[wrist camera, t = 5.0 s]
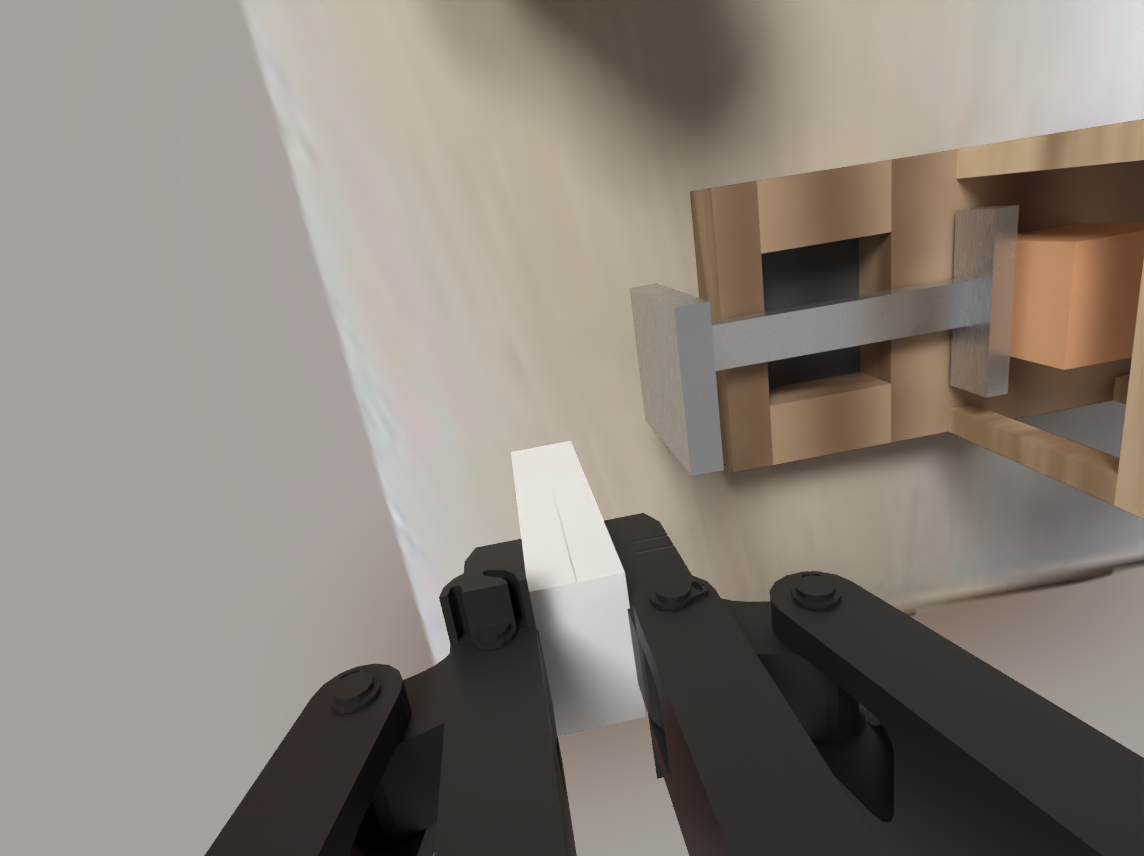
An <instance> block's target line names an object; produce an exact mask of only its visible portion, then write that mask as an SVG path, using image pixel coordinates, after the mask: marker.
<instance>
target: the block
mask: <svg viewBox="0 0 1144 856" xmlns="http://www.w3.org/2000/svg"><path fill="white" fill-rule="evenodd" d="M1143 261H1144V222H1096V223H1078V224H1072V225H1066V226H1060V227H1054V228H1048V229H1042V230H1037V231H1031V232H1025V233H1019V234H1017V248H1016V264H1015V281H1014V297H1013V314H1012V330H1011V347H1010V356H1011V357H1015V358H1019V359H1023V360H1027V361H1031V362H1035V363H1039V364H1043V365H1047V366H1051V367H1055V368H1059V369H1063V370H1066V369H1072V368H1077V367H1082V366H1088V365H1093V364H1099V363H1104V362H1109V361H1115V360H1120V359H1125V358H1131V357H1132V352H1133V344H1134V336H1135V327H1136V319H1137V311H1138V302H1139V294H1140V286H1141V278H1142V269H1143Z"/></svg>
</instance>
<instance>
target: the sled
mask: <svg viewBox="0 0 1144 856" xmlns="http://www.w3.org/2000/svg"><path fill="white" fill-rule="evenodd" d="M1018 215H1019V205H1009V206H983V207H972V208H966V209H960V210H956V217H955V248H954V279H952V280H946V281H940V282H935V283H929V284H923V285H917V286H912V287H906V288H900V289H894V290H888V291H883V292H877V293H871V294H865V295H860V296H854V297H848V298H842V299H836V300H831V301H825V302H819V303H813V304H808V305H802V306H796V307H790V308H784V309H779V310H773V311H767V312H761V313H756V314H750V315H744V316H738V317H733V318H727V319H721V320H715V321H711V309H710V302H709V301H706V300H703V299H700V298H697V297H694V296H692V295H689V294H686V293H683V292H680V291H677V290H674V289H671V288H668V287H665V286H662V285H659V284H652V285H647V286H641V287H635V288H630V294H631V302H632V310H633V319H634V327H635V335H636V344H637V352H638V360H639V368H640V377H641V385H642V393H643V402H644V410H645V418H646V421H647V423H648V424H649V425H650V426H651V428H652V429H653V430H654V431H655V433H656V434H657V435H658V436H659V437H660V439H661V440H662V441H663V442H664V444H665V445H666V446H667V447H668V449H669V450H670V451H671V452H672V453H673V455H674V456H675V457H676V458H677V460H678V461H679V462H680V463H681V464H682V466H683V467H684V468H685V469H686V471H687V472H688V473H689V474H690V476H696V475H701V474H707V473H712V472H717V471H722V470H724V466H723V454H722V442H721V430H720V418H719V406H718V394H717V382H716V371H719V370H724V369H730V368H735V367H741V366H746V365H752V364H758V363H763V362H769V361H774V360H780V359H786V358H791V357H797V356H802V355H808V354H814V353H819V352H825V351H830V350H836V349H842V348H847V347H853V346H858V345H864V344H869V343H875V342H881V341H886V340H892V339H897V338H903V337H909V336H914V335H920V334H925V333H931V332H937V331H942V330H948V329H952V341H951V373H950V385H951V386H954V387H957V388H960V389H963V390H966V391H969V392H972V393H975V394H977V395H980V396H983V397H986V398H987V397H993V396H998V395H1003V394H1008V379H1009V363H1010V347H1011V330H1012V314H1013V297H1014V281H1015V264H1016V248H1017V231H1018Z"/></svg>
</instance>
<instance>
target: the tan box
mask: <svg viewBox="0 0 1144 856" xmlns="http://www.w3.org/2000/svg"><path fill="white" fill-rule="evenodd" d="M1139 160H1144V119H1142V120H1135V121H1129V122H1123V123H1117V124H1111V125H1104V126H1098V127H1092V128H1086V129H1080V130H1074V131H1067V132H1061V133H1055V134H1049V135H1043V136H1037V137H1030V138H1024V139H1018V140H1012V141H1006V142H1000V143H993V144H987V145H981V146H975V147H969V148H962V149H957V173H956V179H959V178H969V177H979V176H989V175H999V174H1009V173H1019V172H1029V171H1039V170H1049V169H1059V168H1069V167H1079V166H1089V165H1099V164H1109V163H1119V162H1129V161H1139ZM1113 400H1114V401H1117V402H1121V403H1124V404H1126V411H1125V419H1124V427H1123V436H1122V444H1121V452H1120V458H1117V457H1114V456H1111V455H1109V454H1106V453H1103V452H1101V451H1098V450H1095V449H1092V448H1090V447H1087V446H1084V445H1082V444H1079V443H1076V442H1073V441H1071V440H1068V439H1065V438H1063V437H1060V436H1057V435H1054V434H1052V433H1049V432H1046V431H1044V430H1041V429H1038V428H1035V427H1033V426H1030V425H1027V424H1025V423H1022V422H1019V421H1016V420H1014V419H1011V418H1008V417H1006V416H1003V415H1000V414H997V413H995V412H992V411H989V410H987V409H984V408H981V407H978V406H976V405H973V404H970V405H965V406H960V407H954V408H949V424H948V432H950V433H953V434H955V435H957V436H959V437H962V438H964V439H966V440H968V441H970V442H973V443H975V444H977V445H979V446H982V447H984V448H986V449H988V450H991V451H993V452H995V453H997V454H1000V455H1002V456H1004V457H1006V458H1009V459H1011V460H1013V461H1015V462H1017V463H1020V464H1022V465H1024V466H1026V467H1029V468H1031V469H1033V470H1035V471H1038V472H1040V473H1042V474H1044V475H1047V476H1049V477H1051V478H1053V479H1056V480H1058V481H1060V482H1062V483H1064V484H1067V485H1069V486H1071V487H1073V488H1076V489H1078V490H1080V491H1082V492H1085V493H1087V494H1089V495H1091V496H1094V497H1096V498H1098V499H1100V500H1103V501H1105V502H1107V503H1109V504H1111V505H1114V506H1116V507H1118V508H1120V509H1123V510H1125V511H1127V512H1129V513H1132V514H1134V515H1136V516H1138V517H1141V518H1143V519H1144V261H1143V269H1142V278H1141V286H1140V294H1139V302H1138V311H1137V319H1136V327H1135V336H1134V344H1133V352H1132V361H1131V369H1130V375H1124V376H1119V377H1115V384H1114V393H1113Z"/></svg>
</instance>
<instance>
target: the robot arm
mask: <svg viewBox="0 0 1144 856" xmlns="http://www.w3.org/2000/svg"><path fill="white" fill-rule="evenodd" d="M511 457H512V465H513V473H514V482H515V490H516V498H517V506H518V515H519V523H520V531H521V539H518V540H513V541H508V542H503V543H498V544H493V545H487V546H482V547H477V548H475V549H474V551H473V552H472V553H471V554H470V556H469V557H468V558H467V560H466V561H465V565H464V574H462V575H460V576H458V577H456V578H454V579H453V580H452V581H451V582H449V583H448V584H447V585H446V586H445V587H444V588H443V590H442V592H441V594H440V597H439V599H440V603H441V607H442V611H443V615H444V619H445V623H446V627H447V631H448V636H449V640H450V644H451V645H450V654H449V655H448V656H447V657H446V658H445V659H443V660H442V661H441V662H439V663H438V664H436V665H435V666H433V667H431V668H429V669H427V670H426V671H423V672H421V673H419V674H417V675H414V676H412V677H410V678H407V679H405V680H403V679H402V677H401V675H400V672H399V671H398V670H397V669H395V668H393V667H391V666H389V665H382V664H370V665H365V666H359V667H356V668H352V669H350V670H347V671H345V672H343V673H341V674H339V675H337V676H336V677H334V678H333V679H331V680H330V681H328V682H327V683H325V684H324V685H323V686H322V687H321V688H320V689H319V690H318V691H317V692H316V693H315V695H314V696H313V697H312V698H311V700H310V701H309V702H308V704H307V706H306V707H305V708H304V710H303V711H302V713H301V714H300V716H299V717H298V719H297V720H296V722H295V723H294V725H293V726H292V728H291V729H290V731H289V732H288V733H287V735H286V737H285V738H284V740H283V741H282V742H281V744H280V745H279V747H278V749H277V750H276V751H275V753H274V754H273V756H272V757H271V759H270V760H269V762H268V763H267V765H266V766H265V768H264V769H263V771H262V772H261V773H260V775H259V776H258V778H257V779H256V781H255V782H254V784H253V785H252V787H251V788H250V789H249V791H248V792H247V794H246V795H245V797H244V798H243V800H242V801H241V803H240V804H239V806H238V807H237V809H236V810H235V812H234V813H233V815H232V816H231V818H230V819H229V820H228V822H227V823H226V825H225V826H224V828H223V829H222V831H221V832H220V834H219V835H218V837H217V838H216V840H215V841H214V843H213V844H212V846H211V847H210V849H209V850H208V851H207V853H206V854H205V856H433V855H434V856H577V855H576V849H575V842H574V835H573V830H572V822H571V816H570V810H569V802H568V796H567V789H566V782H565V776H564V769H563V763H562V757H561V752H560V747H559V742H558V737H557V736H561V735H566V734H570V733H575V732H580V731H584V730H588V729H593V728H598V727H602V726H607V725H611V724H616V723H620V722H625V721H629V720H634V719H638V718H643V717H645V710H644V703H645V706H646V709H647V711H648V716H649V723H650V730H651V737H652V745H653V751H654V758H655V766H656V773H657V778H662V777H664V779H665V782H666V785H667V788H668V791H669V794H670V798H671V801H672V803H673V807H674V810H675V813H676V816H677V819H678V822H679V825H680V828H681V831H682V834H683V837H684V840H685V844H686V847H687V850H688V853H689V856H1144V758H1143V757H1141V756H1139V755H1138V754H1136V753H1134V752H1132V751H1131V750H1129V749H1128V748H1126V747H1125V746H1123V745H1121V744H1119V743H1118V742H1116V741H1115V740H1113V739H1111V738H1109V737H1108V736H1106V735H1105V734H1103V733H1101V732H1100V731H1098V730H1096V729H1095V728H1093V727H1091V726H1090V725H1088V724H1086V723H1085V722H1083V721H1081V720H1080V719H1078V718H1077V717H1075V716H1073V715H1072V714H1070V713H1068V712H1067V711H1065V710H1063V709H1062V708H1060V707H1058V706H1057V705H1055V704H1053V703H1052V702H1050V701H1048V700H1047V699H1045V698H1043V697H1042V696H1040V695H1038V694H1036V693H1035V692H1034V691H1032V690H1030V689H1029V688H1027V687H1025V686H1024V685H1022V684H1020V683H1018V682H1017V681H1015V680H1014V679H1012V678H1010V677H1009V676H1007V675H1005V674H1004V673H1002V672H1000V671H999V670H997V669H995V668H994V667H992V666H991V665H989V664H987V663H986V662H984V661H982V660H980V659H979V658H977V657H975V656H974V655H972V654H971V653H969V652H967V651H966V650H964V649H962V648H961V647H959V646H957V645H956V644H954V643H952V642H951V641H949V640H947V639H946V638H944V637H942V636H941V635H939V634H938V633H936V632H934V631H933V630H931V629H929V628H928V627H926V626H924V625H923V624H921V623H919V622H918V621H916V620H914V619H913V618H911V617H909V616H908V615H906V614H904V613H903V612H901V611H900V610H898V609H896V608H895V607H893V606H891V605H890V604H888V603H886V602H885V601H883V600H881V599H880V598H878V597H876V596H875V595H873V594H871V593H870V592H868V591H866V590H865V589H863V588H861V587H860V586H858V585H857V584H855V583H853V582H852V581H849V580H847V579H845V578H842V577H840V576H838V575H834V574H829V573H823V572H817V571H811V572H809V571H807V572H800V573H796V574H791V575H787V576H785V577H783V578H782V579H780V580H778V581H776V582H775V583H774V585H773V586H772V588H771V589H770V602H741V601H731V600H726V599H721V598H720V596H719V595H718V593H717V592H716V590H715V589H714V588H713V587H712V586H711V585H710V584H709V583H708V582H707V581H705V580H702V579H700V578H697V577H695V576H692V575H691V573H690V571H689V570H688V568H687V566H686V565H685V563H684V561H683V560H682V558H681V556H680V555H679V553H678V551H677V550H676V548H675V547H674V546H673V543H672V542H671V540H670V538H669V537H668V536H667V533H666V532H665V530H664V528H663V527H662V525H661V523H660V522H659V521H657V520H655V519H654V518H652V517H650V516H648V515H646V514H644V513H641V514H636V515H631V516H626V517H621V518H615V519H610V520H605V521H603V518H602V516H601V513H600V511H599V508H598V506H597V504H596V501H595V499H594V496H593V494H592V491H591V489H590V487H589V484H588V482H587V479H586V477H585V475H584V472H583V470H582V467H581V465H580V462H579V460H578V458H577V455H576V453H575V450H574V448H573V445H572V443H571V441H567V442H562V443H557V444H551V445H546V446H541V447H535V448H530V449H524V450H519V451H514V452H511ZM643 700H644V703H643ZM434 852H435V854H434Z"/></svg>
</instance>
